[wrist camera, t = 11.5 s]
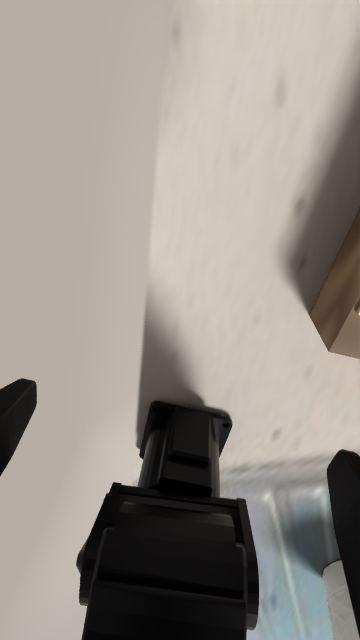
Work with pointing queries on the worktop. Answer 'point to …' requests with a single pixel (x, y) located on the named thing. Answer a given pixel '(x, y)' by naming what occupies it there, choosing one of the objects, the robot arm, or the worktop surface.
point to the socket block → (341, 299)
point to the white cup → (339, 603)
